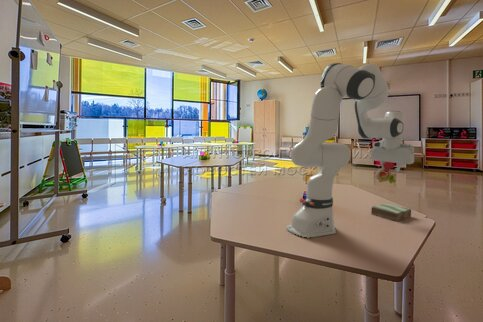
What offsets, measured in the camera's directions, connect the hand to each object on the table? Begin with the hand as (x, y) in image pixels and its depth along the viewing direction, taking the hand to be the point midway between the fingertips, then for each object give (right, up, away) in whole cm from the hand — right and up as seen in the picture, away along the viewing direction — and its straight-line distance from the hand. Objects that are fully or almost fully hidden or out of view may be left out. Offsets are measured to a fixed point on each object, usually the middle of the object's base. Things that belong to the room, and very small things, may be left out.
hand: (390, 170), depth 128 cm
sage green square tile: (+2, -23, +3) cm, 24 cm away
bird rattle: (-2, -6, +2) cm, 7 cm away
